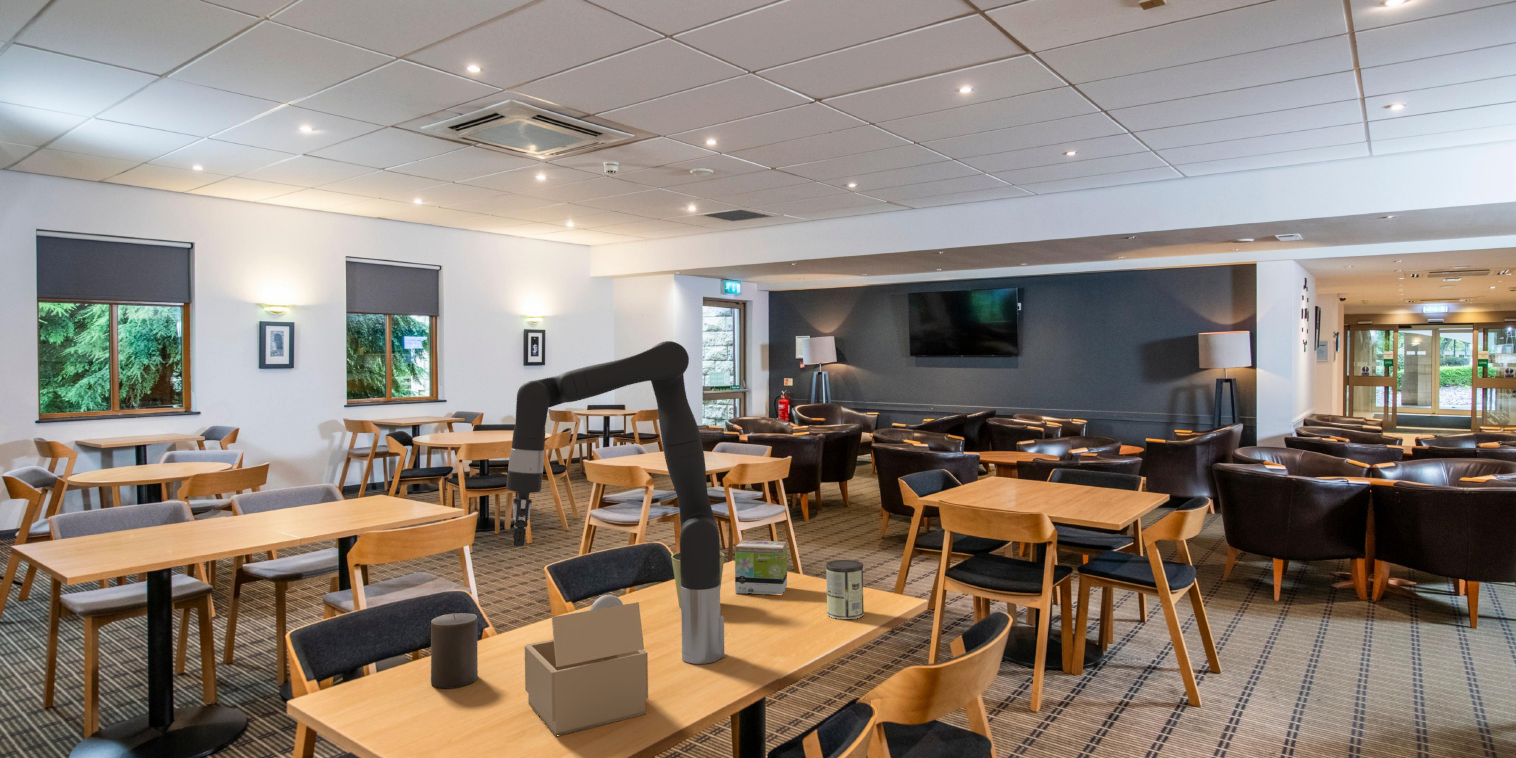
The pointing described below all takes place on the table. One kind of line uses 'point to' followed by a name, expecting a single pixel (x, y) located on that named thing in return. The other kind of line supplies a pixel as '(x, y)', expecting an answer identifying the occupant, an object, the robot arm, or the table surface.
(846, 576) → the coffee can
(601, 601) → the donut
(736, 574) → the tea box
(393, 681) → the table surface
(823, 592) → the table surface
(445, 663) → the pillar candle
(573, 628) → the carton flap
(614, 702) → the carton
